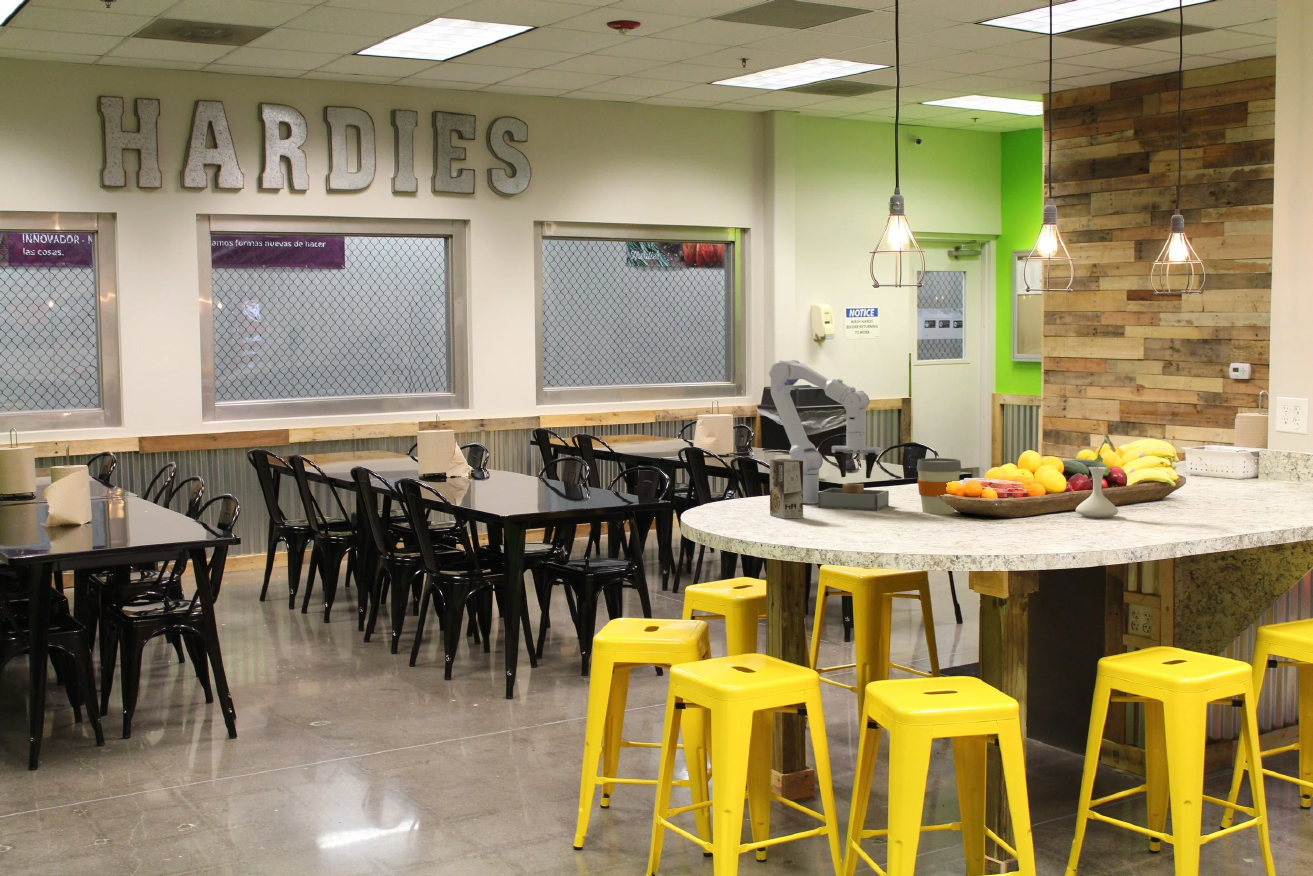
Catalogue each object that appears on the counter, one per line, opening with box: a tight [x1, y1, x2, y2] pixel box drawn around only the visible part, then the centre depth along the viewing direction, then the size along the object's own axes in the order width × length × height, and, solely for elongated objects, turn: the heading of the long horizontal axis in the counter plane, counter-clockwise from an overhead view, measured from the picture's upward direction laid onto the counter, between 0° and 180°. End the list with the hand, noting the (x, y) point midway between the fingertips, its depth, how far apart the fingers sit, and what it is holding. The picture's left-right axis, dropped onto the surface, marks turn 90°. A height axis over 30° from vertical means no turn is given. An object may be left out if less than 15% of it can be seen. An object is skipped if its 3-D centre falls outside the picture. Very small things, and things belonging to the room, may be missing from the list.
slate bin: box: [817, 487, 890, 511], centre depth 402 cm, size 18×12×4 cm, turn 65°
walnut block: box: [842, 483, 865, 494], centre depth 402 cm, size 5×5×6 cm
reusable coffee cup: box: [916, 457, 962, 515], centre depth 389 cm, size 13×13×15 cm
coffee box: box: [769, 458, 804, 520], centre depth 381 cm, size 9×6×16 cm
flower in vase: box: [1075, 426, 1119, 518], centre depth 377 cm, size 13×11×25 cm
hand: (855, 477), depth 403 cm, fingers open, 7 cm apart
